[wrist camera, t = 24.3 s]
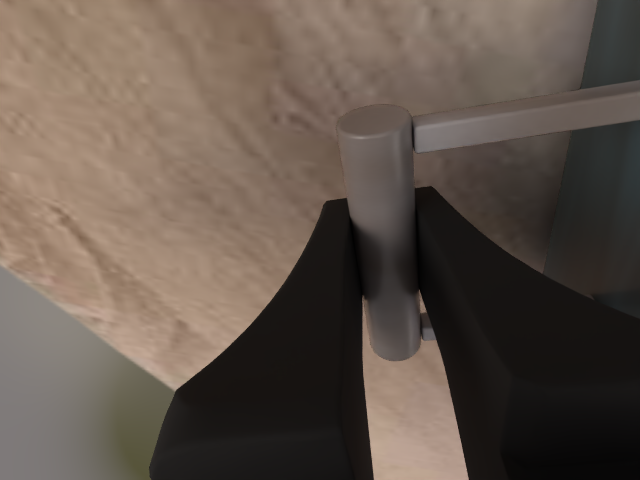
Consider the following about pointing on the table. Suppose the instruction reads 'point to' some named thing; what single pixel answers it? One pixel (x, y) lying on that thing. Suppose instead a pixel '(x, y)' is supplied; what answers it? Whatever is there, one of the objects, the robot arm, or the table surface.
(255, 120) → the table surface
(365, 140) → the drawer
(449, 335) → the robot arm
